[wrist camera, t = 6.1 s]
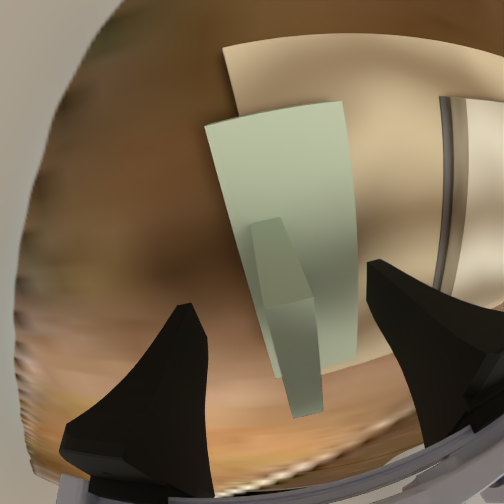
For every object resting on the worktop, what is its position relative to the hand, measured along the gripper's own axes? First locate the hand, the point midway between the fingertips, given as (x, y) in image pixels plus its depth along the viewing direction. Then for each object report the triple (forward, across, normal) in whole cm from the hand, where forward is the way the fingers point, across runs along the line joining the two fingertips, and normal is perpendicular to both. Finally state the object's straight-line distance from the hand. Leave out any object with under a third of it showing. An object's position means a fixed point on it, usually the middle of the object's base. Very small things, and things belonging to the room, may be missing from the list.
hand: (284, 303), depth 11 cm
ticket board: (+4, -10, 0) cm, 11 cm away
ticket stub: (+3, -1, 0) cm, 3 cm away
